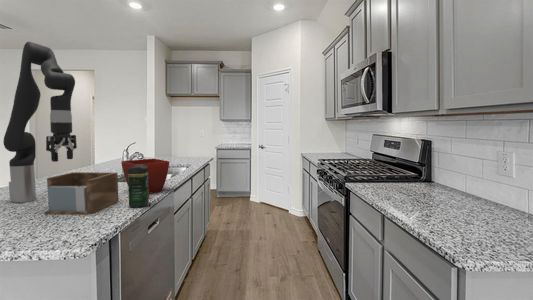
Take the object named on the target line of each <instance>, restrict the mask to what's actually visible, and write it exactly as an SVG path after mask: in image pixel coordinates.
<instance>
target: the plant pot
mask: <svg viewBox="0 0 533 300" xmlns="http://www.w3.org/2000/svg"><path fill="white" fill-rule="evenodd" d="M135 165H145V166H147V167H148V182H149V194H153V193H158V192H160V193H161V192H162V191H163V190H164V186H165V183H166V181H167V177H168V173H169V168H170V161H169V160H164V159H160V158H159V159H158V158H144V159H133V160H121V167H122V172H123V175H124V179H125V181H126V184H127V187H128V188H129V181H128V169H129V168H131V167H133V166H135Z"/></svg>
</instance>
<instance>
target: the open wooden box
mask: <svg viewBox="0 0 533 300" xmlns="http://www.w3.org/2000/svg"><path fill="white" fill-rule="evenodd" d="M118 180H119V179H118V172H100V171H99V172H94V171H93V172H92V171H91V172H84V171H83V172H82V171H81V172H80V171H79V172H77V171H76V172H75V171H73V172H68V173H64V174H60V175H56V176H55V175H54V176H50V177H47V178H46V184H47V186H46V187H47V189H48V187H51V186H87V202H88V211H85V212H77V211H49V209H48V210H46V211H44V212H43V215H45V214H46V215H88V214H89V215H93V214H96V213H97V212H100V211H102V210H104V209H107V208H108V207H111V206H112V205H115V204H117V203H118V202H119V184H118V183H119V181H118ZM47 200H48V199H47ZM47 202H48V205H49V200H48V201H47Z"/></svg>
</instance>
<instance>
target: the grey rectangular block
mask: <svg viewBox="0 0 533 300" xmlns="http://www.w3.org/2000/svg"><path fill="white" fill-rule="evenodd" d="M47 200H49V204H48V210H49V211H77V212H85V211H88V202H87V186H51V187H48V188H47Z"/></svg>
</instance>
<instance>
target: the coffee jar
mask: <svg viewBox="0 0 533 300" xmlns="http://www.w3.org/2000/svg"><path fill="white" fill-rule="evenodd" d="M128 181H129V187H128V207H130V208H135V209H136V208H142V207H146V206H147V205H148V204H149V203H150V200H149V198H150V196H149V197H148V167H147V166H145V165H135V166H133V167H131V168H129V169H128Z"/></svg>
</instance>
